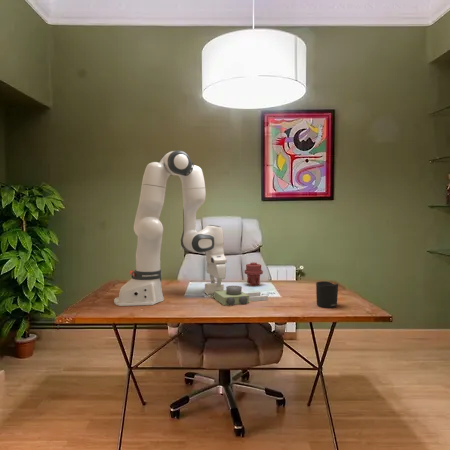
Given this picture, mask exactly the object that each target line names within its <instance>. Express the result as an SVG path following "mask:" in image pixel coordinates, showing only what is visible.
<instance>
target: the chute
mask: <svg viewBox="0 0 450 450" xmlns="http://www.w3.org/2000/svg"><path fill="white" fill-rule="evenodd" d="M216 283H217V282H215V283H211V282H210V283H204V294H205V293H206V294H207V296H208V295H211V296H214V291H222V290H225V288H224V287H225V286H224V284H221V287H217V285H216ZM206 294H205V295H206Z"/></svg>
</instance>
